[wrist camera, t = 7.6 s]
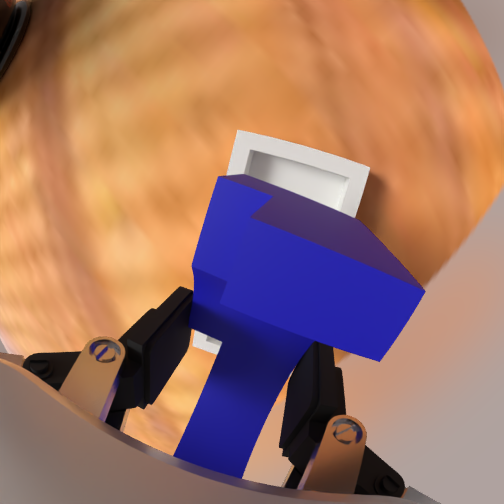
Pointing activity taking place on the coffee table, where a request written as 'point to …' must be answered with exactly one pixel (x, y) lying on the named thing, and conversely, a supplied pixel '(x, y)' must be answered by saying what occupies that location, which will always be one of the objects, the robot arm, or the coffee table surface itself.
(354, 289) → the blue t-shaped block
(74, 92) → the coffee table surface
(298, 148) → the tray
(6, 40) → the amphora vase
